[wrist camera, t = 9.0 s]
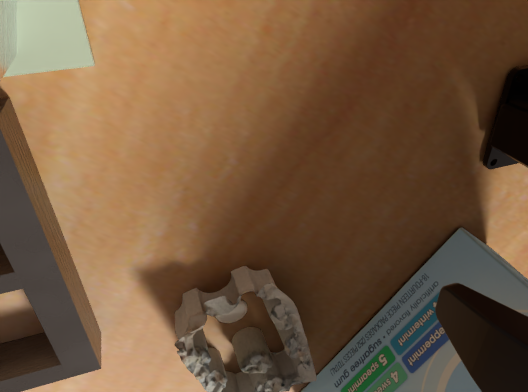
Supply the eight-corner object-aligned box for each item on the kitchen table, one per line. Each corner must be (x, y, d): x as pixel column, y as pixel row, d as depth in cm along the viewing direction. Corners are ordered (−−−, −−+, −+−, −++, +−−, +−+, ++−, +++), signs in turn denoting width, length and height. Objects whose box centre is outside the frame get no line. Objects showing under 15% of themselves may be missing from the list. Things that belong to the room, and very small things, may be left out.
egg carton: (160, 294, 25) (168, 348, 22) (272, 248, 26) (295, 293, 23) (212, 382, 31) (225, 434, 28) (302, 342, 32) (324, 388, 29)
